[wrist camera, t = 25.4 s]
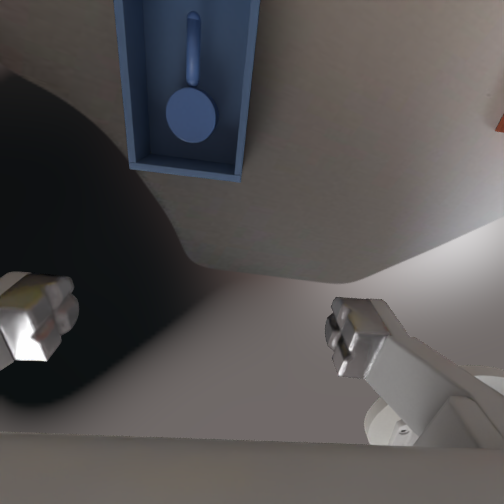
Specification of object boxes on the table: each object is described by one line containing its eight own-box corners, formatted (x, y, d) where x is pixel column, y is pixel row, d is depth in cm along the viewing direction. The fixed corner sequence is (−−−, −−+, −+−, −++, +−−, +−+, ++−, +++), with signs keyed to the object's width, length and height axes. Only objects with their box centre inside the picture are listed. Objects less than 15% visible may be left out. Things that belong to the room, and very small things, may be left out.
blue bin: (241, 169, 27) (240, 182, 23) (146, 157, 26) (129, 169, 22) (260, -7, 20) (263, -32, 17) (135, -30, 20) (107, -61, 16)
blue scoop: (217, 141, 25) (214, 146, 23) (173, 135, 25) (166, 139, 23) (224, 22, 21) (222, 13, 19) (171, 13, 21) (162, 3, 18)
